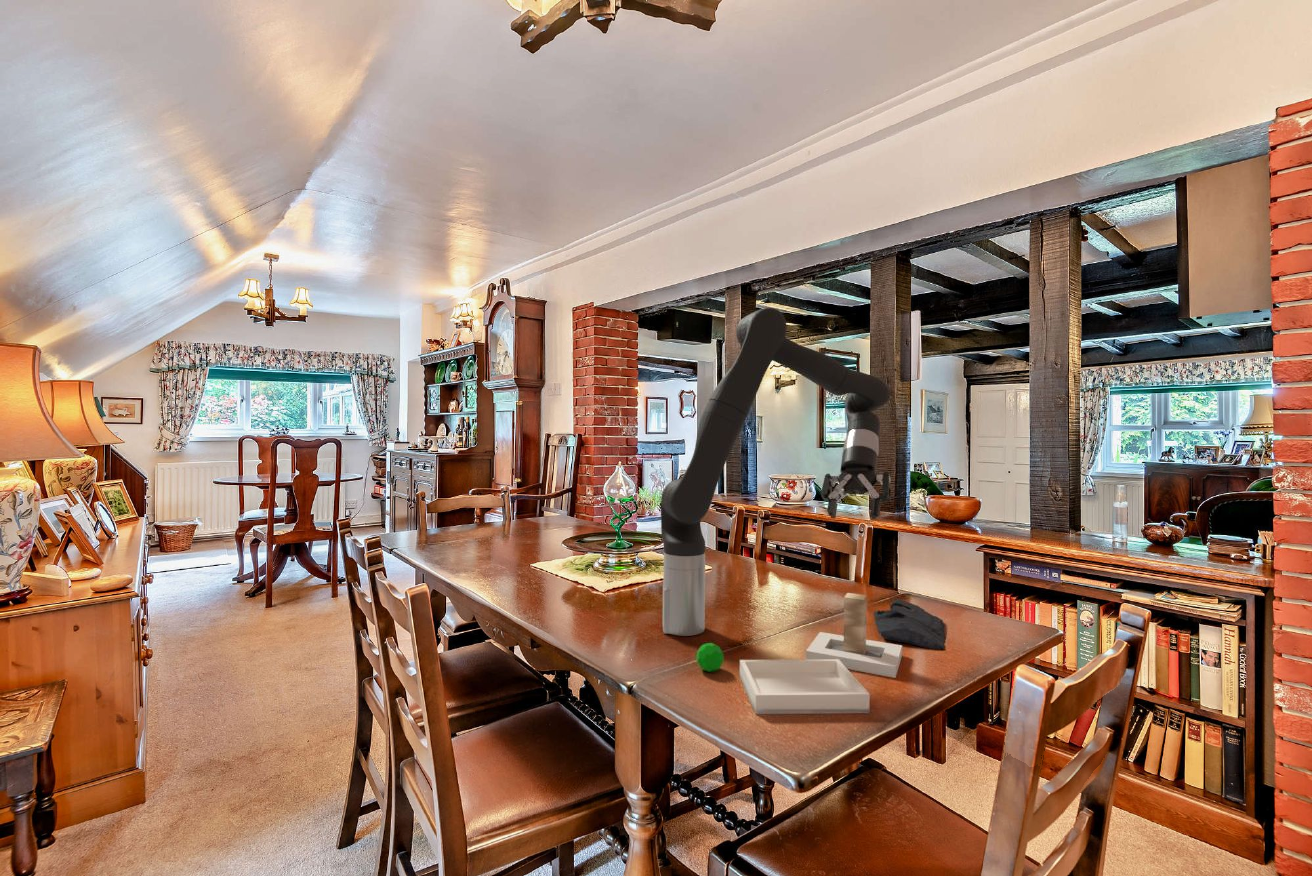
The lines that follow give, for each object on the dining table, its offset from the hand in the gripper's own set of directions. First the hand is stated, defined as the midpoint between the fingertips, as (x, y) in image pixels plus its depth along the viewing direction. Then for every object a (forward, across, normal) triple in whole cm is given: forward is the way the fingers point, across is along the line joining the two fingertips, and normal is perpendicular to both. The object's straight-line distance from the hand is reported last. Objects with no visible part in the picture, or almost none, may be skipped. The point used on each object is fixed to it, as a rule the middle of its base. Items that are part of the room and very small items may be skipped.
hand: (852, 517), depth 124 cm
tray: (+39, -2, -9) cm, 40 cm away
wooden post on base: (+27, +1, +8) cm, 28 cm away
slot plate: (+27, +1, +8) cm, 28 cm away
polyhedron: (+38, -19, -10) cm, 44 cm away
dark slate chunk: (+14, +6, +27) cm, 31 cm away
